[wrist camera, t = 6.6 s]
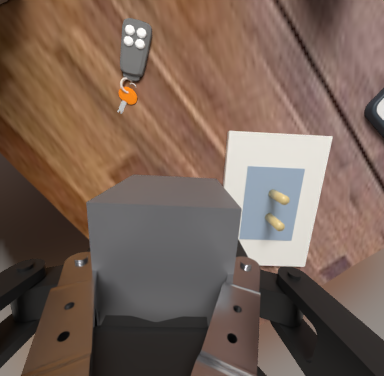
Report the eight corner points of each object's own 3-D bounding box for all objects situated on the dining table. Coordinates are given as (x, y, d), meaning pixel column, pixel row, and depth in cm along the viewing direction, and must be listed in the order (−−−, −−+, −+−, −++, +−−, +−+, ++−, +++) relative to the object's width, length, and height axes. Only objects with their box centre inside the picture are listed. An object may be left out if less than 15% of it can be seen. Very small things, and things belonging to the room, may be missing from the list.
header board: (216, 260, 30) (221, 280, 26) (227, 131, 26) (236, 128, 21) (300, 262, 31) (319, 282, 26) (327, 136, 26) (355, 135, 22)
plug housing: (135, 277, 14) (99, 369, 8) (133, 174, 12) (86, 202, 7) (207, 279, 15) (221, 370, 9) (216, 178, 13) (241, 208, 7)
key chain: (124, 21, 23) (119, 13, 21) (154, 29, 23) (151, 21, 22) (111, 129, 26) (106, 129, 24) (137, 136, 26) (134, 135, 24)
